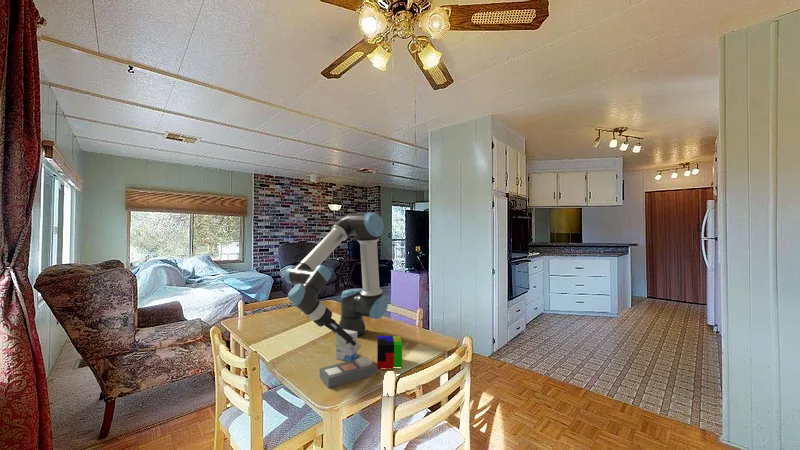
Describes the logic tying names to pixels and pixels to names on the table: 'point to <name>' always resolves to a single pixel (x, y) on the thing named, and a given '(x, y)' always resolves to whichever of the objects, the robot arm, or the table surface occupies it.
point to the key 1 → (333, 371)
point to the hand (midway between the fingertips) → (351, 343)
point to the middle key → (348, 367)
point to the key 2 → (363, 362)
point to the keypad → (346, 374)
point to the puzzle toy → (389, 352)
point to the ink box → (345, 347)
